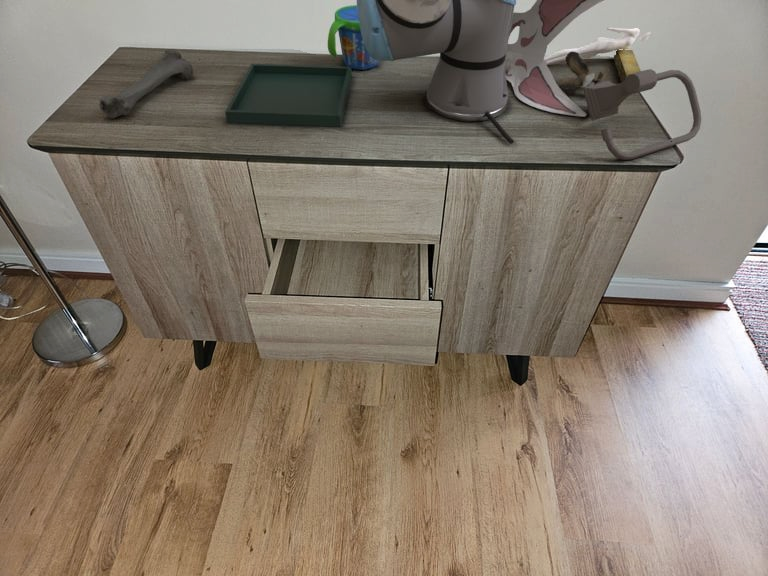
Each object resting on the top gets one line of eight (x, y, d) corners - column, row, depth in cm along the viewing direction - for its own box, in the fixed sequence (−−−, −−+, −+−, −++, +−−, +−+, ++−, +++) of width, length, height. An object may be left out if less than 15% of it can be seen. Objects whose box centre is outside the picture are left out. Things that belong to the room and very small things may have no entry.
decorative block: (622, 88, 104) (640, 90, 104) (626, 77, 103) (645, 78, 102) (612, 58, 115) (628, 60, 115) (616, 47, 113) (632, 48, 113)
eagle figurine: (605, 81, 104) (565, 62, 106) (613, 59, 97) (570, 39, 99) (583, 112, 104) (544, 91, 106) (590, 92, 97) (548, 70, 99)
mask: (467, 104, 119) (598, 125, 103) (440, 94, 110) (579, 116, 93) (493, -5, 113) (636, -1, 97) (467, -25, 103) (621, -25, 87)
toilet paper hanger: (619, 163, 83) (594, 71, 81) (572, 177, 93) (549, 96, 92) (713, 132, 90) (692, 47, 89) (660, 149, 100) (641, 72, 99)
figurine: (547, 65, 104) (664, 29, 105) (542, 47, 104) (659, 11, 105) (530, 83, 115) (637, 50, 115) (525, 66, 115) (632, 34, 115)
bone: (174, 71, 108) (165, 41, 104) (201, 76, 106) (193, 45, 102) (98, 119, 94) (84, 86, 89) (127, 125, 92) (114, 92, 88)
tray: (351, 77, 107) (351, 66, 105) (340, 127, 93) (340, 115, 91) (253, 74, 107) (251, 63, 106) (227, 123, 93) (224, 111, 92)
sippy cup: (378, 48, 118) (378, -2, 110) (405, 64, 111) (407, 13, 104) (317, 63, 111) (313, 12, 104) (342, 81, 105) (340, 28, 98)
